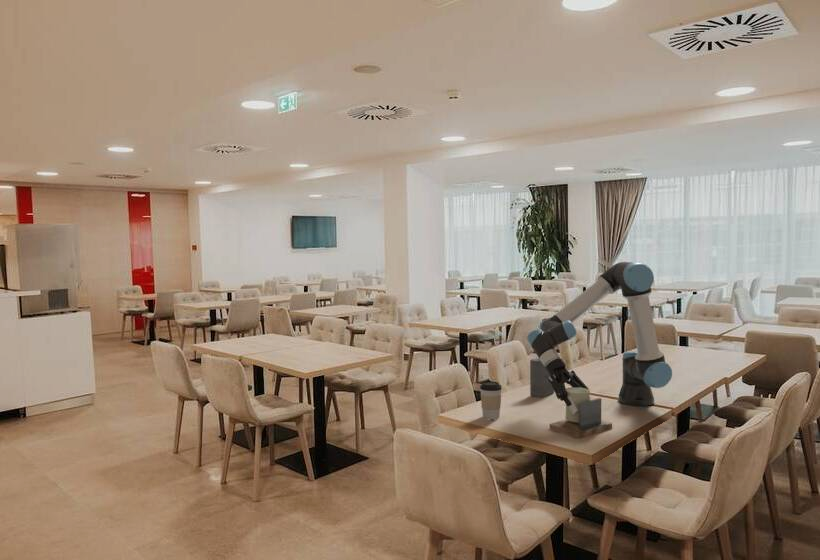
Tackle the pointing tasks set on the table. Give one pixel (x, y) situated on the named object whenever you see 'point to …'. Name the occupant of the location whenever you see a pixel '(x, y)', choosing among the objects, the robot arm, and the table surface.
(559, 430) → the shelf board
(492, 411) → the coffee cup
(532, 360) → the flask
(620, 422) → the table surface
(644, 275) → the robot arm
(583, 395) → the can
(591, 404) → the bookend
